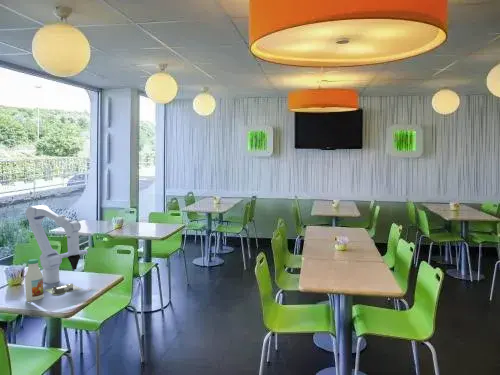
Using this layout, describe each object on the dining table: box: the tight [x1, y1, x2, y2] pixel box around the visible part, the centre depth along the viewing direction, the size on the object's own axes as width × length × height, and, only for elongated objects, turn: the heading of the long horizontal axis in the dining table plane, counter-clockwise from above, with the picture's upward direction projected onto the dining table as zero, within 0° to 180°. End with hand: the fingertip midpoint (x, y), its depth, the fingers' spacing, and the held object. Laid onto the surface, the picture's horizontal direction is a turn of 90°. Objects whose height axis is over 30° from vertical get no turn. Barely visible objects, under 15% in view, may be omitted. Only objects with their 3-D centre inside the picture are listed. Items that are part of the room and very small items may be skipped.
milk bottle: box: [24, 258, 45, 303], centre depth 210 cm, size 8×8×20 cm
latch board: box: [44, 284, 83, 296], centre depth 224 cm, size 13×14×4 cm
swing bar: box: [52, 283, 74, 294], centre depth 220 cm, size 10×3×3 cm, turn 137°
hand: (74, 269), depth 231 cm, fingers closed
